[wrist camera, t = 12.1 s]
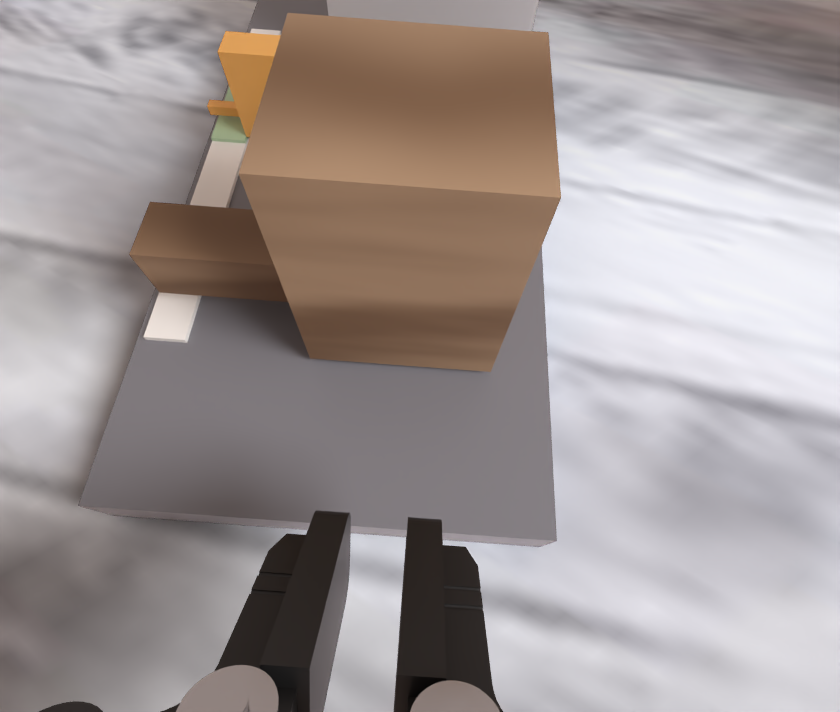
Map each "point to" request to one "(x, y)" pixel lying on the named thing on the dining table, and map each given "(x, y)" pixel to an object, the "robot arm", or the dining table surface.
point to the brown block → (382, 192)
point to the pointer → (245, 74)
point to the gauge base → (326, 390)
